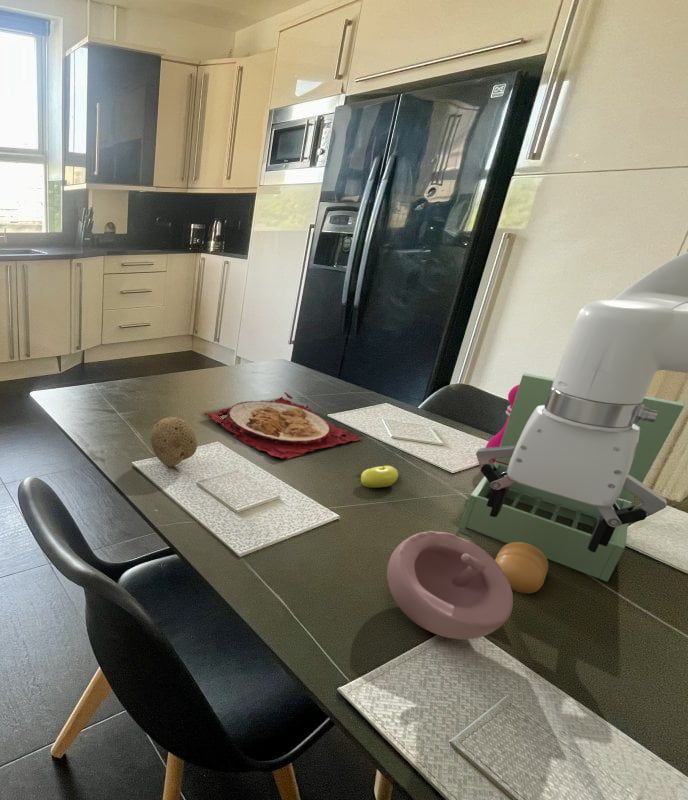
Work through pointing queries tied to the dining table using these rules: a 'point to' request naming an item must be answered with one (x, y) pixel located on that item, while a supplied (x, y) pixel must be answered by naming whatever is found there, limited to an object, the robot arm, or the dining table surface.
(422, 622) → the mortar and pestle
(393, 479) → the yellow oval piece
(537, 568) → the bread roll
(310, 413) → the plate with food
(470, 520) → the bin
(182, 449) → the natural sponge
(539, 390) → the lid
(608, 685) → the dining table surface
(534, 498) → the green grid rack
